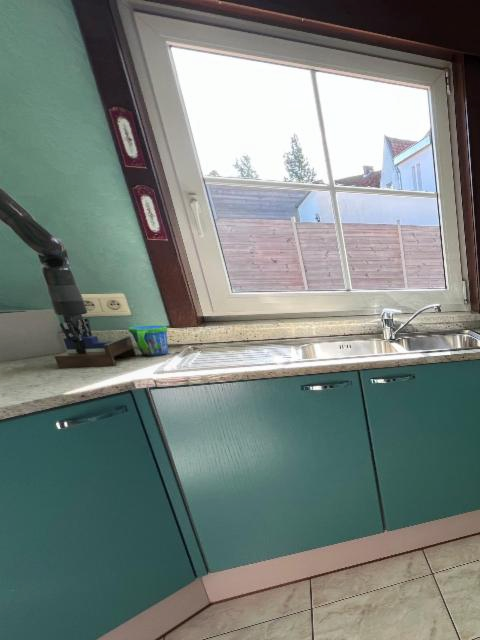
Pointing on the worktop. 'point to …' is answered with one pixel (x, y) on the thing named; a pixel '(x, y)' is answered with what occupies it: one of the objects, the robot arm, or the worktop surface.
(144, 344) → the snack cup
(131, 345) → the wooden display stand
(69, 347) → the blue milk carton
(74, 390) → the worktop surface
